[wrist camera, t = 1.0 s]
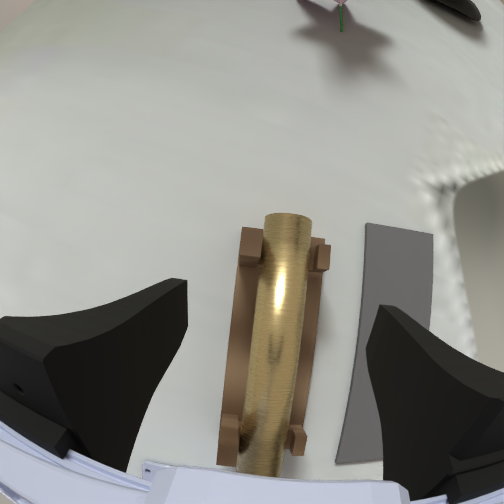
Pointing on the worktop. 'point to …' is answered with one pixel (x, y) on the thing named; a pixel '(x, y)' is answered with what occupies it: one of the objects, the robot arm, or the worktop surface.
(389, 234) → the mat
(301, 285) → the rail
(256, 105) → the worktop surface
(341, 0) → the lily
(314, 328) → the hook stand
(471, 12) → the casserole
